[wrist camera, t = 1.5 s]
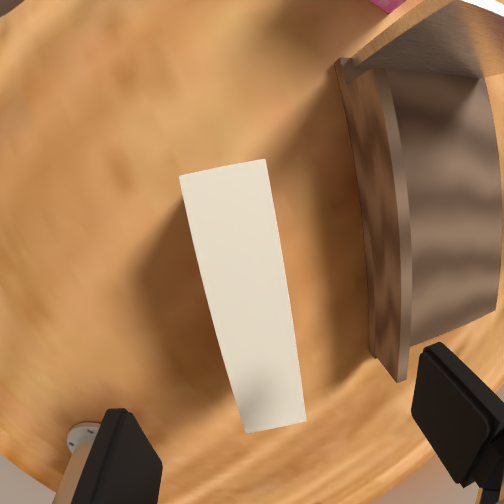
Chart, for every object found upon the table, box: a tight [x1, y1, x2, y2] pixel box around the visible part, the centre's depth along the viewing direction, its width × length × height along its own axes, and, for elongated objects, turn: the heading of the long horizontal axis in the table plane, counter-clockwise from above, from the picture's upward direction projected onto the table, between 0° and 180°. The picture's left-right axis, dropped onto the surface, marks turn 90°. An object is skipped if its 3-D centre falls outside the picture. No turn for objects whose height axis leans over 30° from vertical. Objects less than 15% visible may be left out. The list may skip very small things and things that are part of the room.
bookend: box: [351, 0, 504, 79], centre depth 15 cm, size 1×16×14 cm, turn 101°
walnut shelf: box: [334, 58, 502, 383], centre depth 23 cm, size 28×18×6 cm, turn 11°
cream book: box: [179, 159, 306, 433], centre depth 21 cm, size 16×4×11 cm, turn 11°
